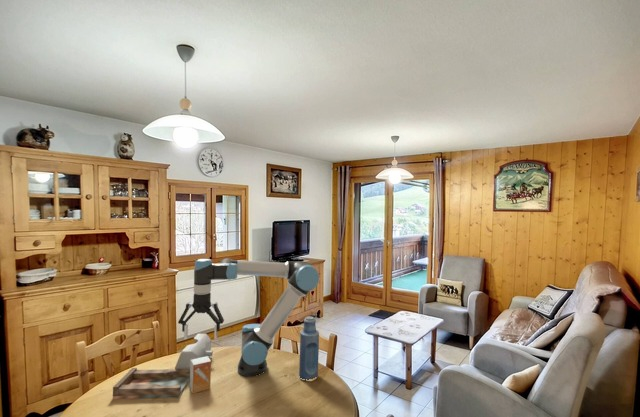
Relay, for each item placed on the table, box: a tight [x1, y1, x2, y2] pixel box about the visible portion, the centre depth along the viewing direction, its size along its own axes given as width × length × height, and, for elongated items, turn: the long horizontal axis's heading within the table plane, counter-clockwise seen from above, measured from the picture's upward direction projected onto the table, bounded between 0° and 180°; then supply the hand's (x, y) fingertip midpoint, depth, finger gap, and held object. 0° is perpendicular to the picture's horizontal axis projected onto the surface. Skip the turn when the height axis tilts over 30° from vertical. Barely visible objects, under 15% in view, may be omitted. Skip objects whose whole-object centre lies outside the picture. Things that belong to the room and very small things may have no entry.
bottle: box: [298, 315, 320, 380], centre depth 162 cm, size 10×10×30 cm
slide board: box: [112, 367, 190, 400], centre depth 149 cm, size 28×17×5 cm, turn 95°
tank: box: [174, 333, 214, 369], centre depth 172 cm, size 25×16×12 cm, turn 2°
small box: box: [189, 356, 212, 394], centre depth 150 cm, size 8×6×13 cm
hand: (200, 338), depth 150 cm, fingers open, 13 cm apart
